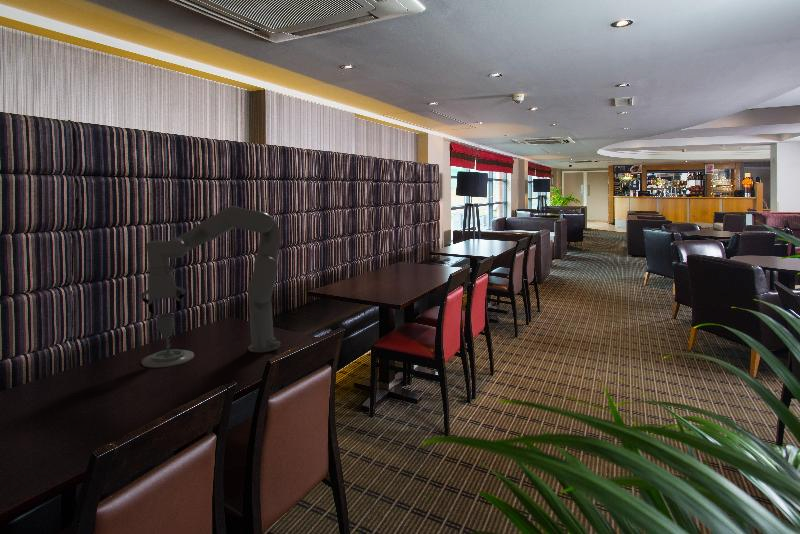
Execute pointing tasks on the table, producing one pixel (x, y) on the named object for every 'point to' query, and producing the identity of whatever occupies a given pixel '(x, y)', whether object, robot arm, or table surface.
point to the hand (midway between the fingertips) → (165, 311)
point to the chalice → (166, 330)
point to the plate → (157, 365)
